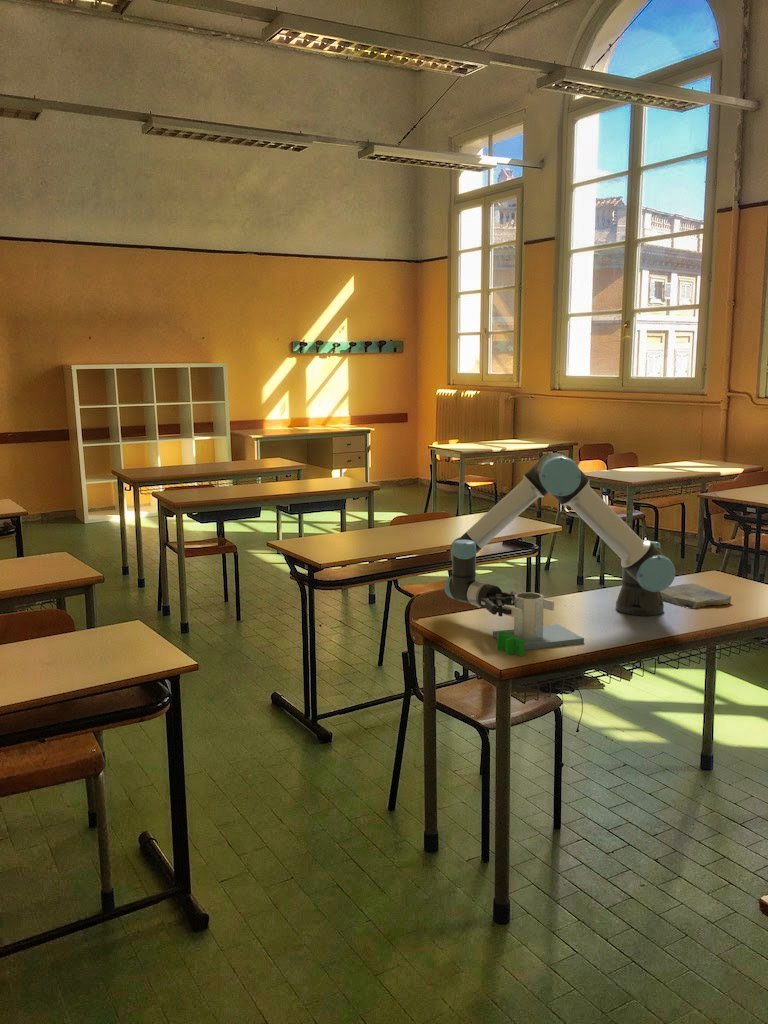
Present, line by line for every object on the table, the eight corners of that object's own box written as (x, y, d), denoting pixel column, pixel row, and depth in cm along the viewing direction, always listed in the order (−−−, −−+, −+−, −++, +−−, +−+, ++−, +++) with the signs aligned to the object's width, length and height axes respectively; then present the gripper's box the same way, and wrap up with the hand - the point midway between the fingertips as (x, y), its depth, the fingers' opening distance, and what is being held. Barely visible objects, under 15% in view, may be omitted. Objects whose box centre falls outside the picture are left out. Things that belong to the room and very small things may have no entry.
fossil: (695, 614, 282) (734, 605, 289) (695, 601, 281) (734, 591, 288) (653, 602, 300) (691, 593, 307) (653, 589, 299) (690, 581, 306)
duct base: (558, 629, 262) (558, 603, 261) (584, 643, 248) (584, 616, 247) (492, 636, 256) (492, 610, 254) (515, 651, 242) (515, 623, 240)
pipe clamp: (491, 647, 246) (491, 632, 245) (502, 645, 248) (502, 630, 247) (513, 658, 236) (513, 642, 235) (524, 656, 238) (524, 640, 237)
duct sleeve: (527, 630, 257) (528, 591, 255) (548, 636, 250) (549, 596, 248) (508, 635, 252) (508, 595, 250) (529, 641, 245) (529, 600, 243)
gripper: (513, 600, 272) (565, 614, 255) (455, 614, 257) (506, 630, 240) (513, 577, 271) (566, 590, 254) (455, 590, 255) (507, 604, 239)
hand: (537, 609), depth 247 cm, fingers open, 13 cm apart
